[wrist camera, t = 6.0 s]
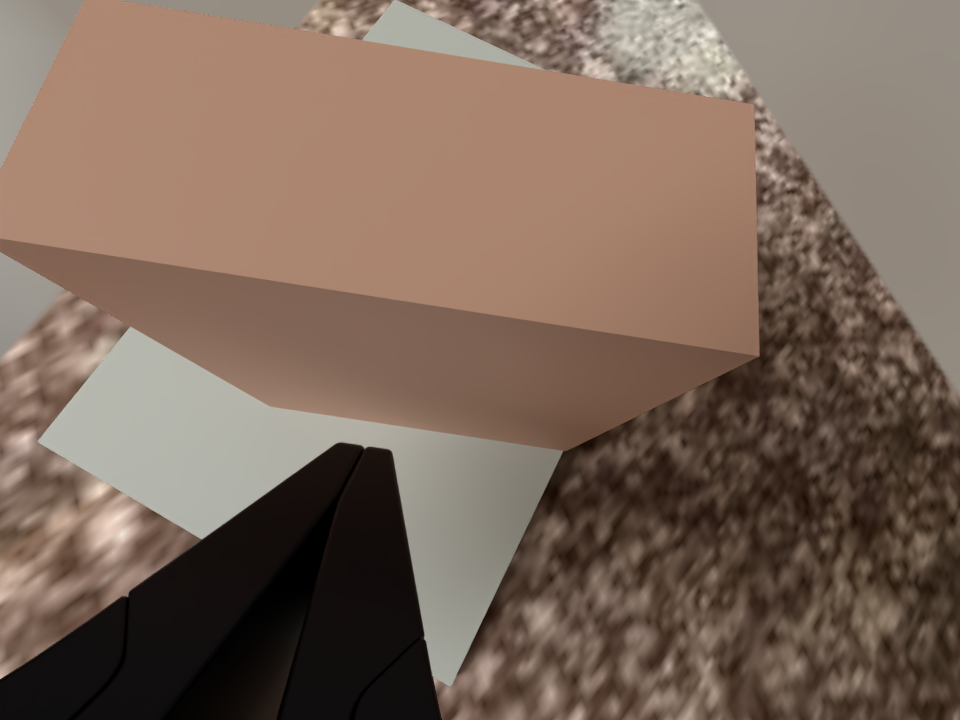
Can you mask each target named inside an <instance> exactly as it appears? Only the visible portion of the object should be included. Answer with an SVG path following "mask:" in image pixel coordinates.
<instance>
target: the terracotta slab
mask: <svg viewBox="0 0 960 720" xmlns="http://www.w3.org/2000/svg"><path fill="white" fill-rule="evenodd" d="M0 252H2V253H3V254H5V255H7V256H8V257H10V258H12V259H14V260H15V261H17V262H19V263H21V264H22V265H24V266H26V267H28V268H29V269H31V270H33V271H35V272H36V273H38V274H40V275H42V276H43V277H45V278H47V279H49V280H50V281H52V282H54V283H56V284H57V285H59V286H61V287H62V288H64V289H66V290H68V291H69V292H71V293H73V294H75V295H76V296H78V297H80V298H82V299H83V300H85V301H87V302H89V303H90V304H92V305H94V306H96V307H97V308H99V309H101V310H103V311H104V312H106V313H108V314H109V315H111V316H113V317H115V318H116V319H118V320H120V321H122V322H123V323H125V324H127V325H129V326H130V327H132V328H134V329H136V330H137V331H139V332H141V333H143V334H144V335H146V336H148V337H150V338H151V339H153V340H155V341H156V342H158V343H160V344H162V345H163V346H165V347H167V348H169V349H170V350H172V351H174V352H176V353H177V354H179V355H181V356H183V357H184V358H186V359H188V360H190V361H191V362H193V363H195V364H197V365H198V366H200V367H202V368H204V369H205V370H207V371H209V372H210V373H212V374H214V375H216V376H217V377H219V378H221V379H223V380H224V381H226V382H228V383H230V384H231V385H233V386H235V387H237V388H238V389H240V390H242V391H244V392H245V393H247V394H249V395H251V396H252V397H254V398H256V399H257V400H259V401H261V402H263V403H264V404H266V405H268V406H270V407H276V408H282V409H289V410H295V411H302V412H309V413H315V414H322V415H329V416H335V417H342V418H349V419H355V420H362V421H368V422H375V423H382V424H388V425H395V426H402V427H408V428H415V429H422V430H428V431H435V432H442V433H448V434H455V435H461V436H468V437H475V438H481V439H488V440H495V441H501V442H508V443H515V444H521V445H528V446H534V447H541V448H548V449H554V450H561V451H567V450H570V449H572V448H574V447H576V446H578V445H580V444H582V443H584V442H586V441H588V440H590V439H592V438H594V437H596V436H598V435H600V434H602V433H604V432H606V431H608V430H610V429H612V428H614V427H616V426H618V425H620V424H622V423H625V422H627V421H629V420H631V419H633V418H635V417H637V416H639V415H641V414H643V413H645V412H647V411H649V410H651V409H653V408H655V407H657V406H659V405H661V404H663V403H665V402H667V401H669V400H671V399H673V398H675V397H677V396H680V395H682V394H684V393H686V392H688V391H690V390H692V389H694V388H696V387H698V386H700V385H702V384H704V383H706V382H708V381H710V380H712V379H714V378H716V377H718V376H720V375H722V374H724V373H726V372H728V371H730V370H732V369H735V368H737V367H739V366H741V365H743V364H745V363H747V362H749V361H751V360H753V359H755V358H757V357H759V356H760V353H759V307H758V261H757V215H756V169H755V123H754V104H748V103H742V102H735V101H729V100H723V99H717V98H711V97H705V96H699V95H693V94H687V93H681V92H674V91H668V90H662V89H656V88H650V87H644V86H638V85H632V84H626V83H620V82H613V81H607V80H601V79H595V78H589V77H583V76H577V75H571V74H565V73H559V72H552V71H546V70H540V69H534V68H528V67H522V66H516V65H510V64H504V63H498V62H491V61H485V60H479V59H473V58H467V57H461V56H455V55H449V54H443V53H437V52H430V51H424V50H418V49H412V48H406V47H400V46H394V45H388V44H382V43H376V42H369V41H363V40H357V39H351V38H345V37H339V36H333V35H327V34H321V33H315V32H308V31H302V30H296V29H290V28H284V27H278V26H272V25H266V24H260V23H254V22H248V21H241V20H235V19H229V18H223V17H217V16H210V15H205V14H199V13H193V12H186V11H180V10H174V9H168V8H162V7H156V6H150V5H144V4H137V3H131V2H126V1H119V0H84V2H83V4H82V6H81V8H80V10H79V12H78V15H77V16H76V18H75V20H74V22H73V24H72V26H71V28H70V30H69V32H68V34H67V36H66V38H65V40H64V42H63V44H62V46H61V48H60V50H59V52H58V54H57V56H56V59H55V60H54V62H53V65H52V67H51V69H50V71H49V73H48V75H47V77H46V79H45V81H44V83H43V85H42V87H41V89H40V91H39V93H38V95H37V97H36V99H35V101H34V103H33V105H32V107H31V109H30V111H29V113H28V115H27V117H26V119H25V121H24V123H23V125H22V127H21V129H20V131H19V133H18V135H17V137H16V139H15V141H14V143H13V145H12V147H11V149H10V151H9V153H8V155H7V157H6V159H5V161H4V163H3V165H2V167H1V169H0Z"/></svg>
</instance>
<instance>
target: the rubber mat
mask: <svg viewBox="0 0 960 720" xmlns="http://www.w3.org/2000/svg"><path fill="white" fill-rule="evenodd" d="M362 40H363V41H369V42H376V43H382V44H388V45H394V46H400V47H406V48H412V49H418V50H424V51H430V52H437V53H443V54H449V55H455V56H461V57H467V58H473V59H479V60H485V61H491V62H498V63H504V64H510V65H516V66H522V67H528V68H534V69H540V70H544V69H542V68H540V67H538V66H536V65H533V64H531V63H529V62H527V61H525V60H523V59H521V58H519V57H516V56H514V55H512V54H510V53H508V52H506V51H504V50H501V49H499V48H497V47H495V46H493V45H491V44H489V43H487V42H484V41H482V40H480V39H478V38H476V37H474V36H472V35H470V34H467V33H465V32H463V31H461V30H459V29H457V28H455V27H453V26H450V25H448V24H446V23H444V22H442V21H440V20H438V19H435V18H433V17H431V16H429V15H427V14H425V13H423V12H421V11H418V10H416V9H414V8H412V7H410V6H408V5H406V4H404V3H401V2H399V1H397V0H394V1H393V2H392V4H391V5H390V6H389V7H388V9H387V10H386V11H385V12H384V14H383V15H382V16H381V17H380V18H379V20H378V21H377V22H376V23H375V25H374V26H373V27H372V28H371V30H370V31H369V32H368V33H367V35H366V36H365V37H364V38H363V39H362ZM37 442H39V443H40V444H42V445H44V446H45V447H47V448H49V449H50V450H52V451H54V452H55V453H57V454H59V455H60V456H62V457H64V458H66V459H67V460H69V461H71V462H72V463H74V464H76V465H77V466H79V467H81V468H82V469H84V470H86V471H87V472H89V473H91V474H92V475H94V476H96V477H98V478H99V479H101V480H103V481H104V482H106V483H108V484H109V485H111V486H113V487H114V488H116V489H118V490H119V491H121V492H123V493H125V494H126V495H128V496H130V497H131V498H133V499H135V500H136V501H138V502H140V503H141V504H143V505H145V506H146V507H148V508H150V509H151V510H153V511H155V512H157V513H158V514H160V515H162V516H163V517H165V518H167V519H168V520H170V521H172V522H173V523H175V524H177V525H178V526H180V527H182V528H183V529H185V530H187V531H189V532H190V533H192V534H194V535H195V536H197V537H199V538H200V539H203V538H204V537H206V536H207V535H209V534H210V533H211V532H213V531H214V530H216V529H217V528H218V527H220V526H221V525H223V524H224V523H225V522H227V521H228V520H230V519H231V518H232V517H234V516H235V515H237V514H238V513H239V512H241V511H242V510H244V509H245V508H246V507H248V506H249V505H251V504H252V503H253V502H255V501H256V500H258V499H259V498H260V497H262V496H263V495H265V494H266V493H267V492H269V491H270V490H272V489H273V488H274V487H276V486H277V485H278V484H280V483H281V482H283V481H284V480H285V479H287V478H288V477H290V476H291V475H292V474H294V473H295V472H297V471H298V470H299V469H301V468H302V467H304V466H305V465H306V464H308V463H309V462H311V461H312V460H313V459H315V458H316V457H318V456H319V455H320V454H322V453H323V452H325V451H326V450H327V449H329V448H330V447H332V446H333V445H334V444H336V443H339V442H344V443H351V444H357V445H362V446H363V447H364V449H365V448H366V447H369V446H371V447H377V448H384V449H389V450H391V451H392V453H393V458H394V464H395V470H396V475H397V481H398V486H399V492H400V498H401V503H402V509H403V515H404V520H405V526H406V532H407V537H408V543H409V549H410V554H411V560H412V566H413V571H414V577H415V583H416V588H417V594H418V600H419V605H420V611H421V617H422V622H423V628H424V634H425V636H424V639H425V640H426V643H427V649H428V655H429V660H430V666H431V671H432V676H433V677H435V678H436V679H438V680H440V681H441V682H443V683H445V684H446V685H448V686H450V687H451V685H452V683H453V681H454V679H455V677H456V675H457V673H458V671H459V669H460V667H461V664H462V662H463V660H464V658H465V656H466V654H467V652H468V650H469V648H470V646H471V643H472V641H473V639H474V637H475V635H476V633H477V631H478V629H479V627H480V625H481V623H482V620H483V618H484V616H485V614H486V612H487V610H488V608H489V606H490V604H491V602H492V599H493V597H494V595H495V593H496V591H497V589H498V587H499V585H500V583H501V581H502V578H503V576H504V574H505V572H506V570H507V568H508V566H509V564H510V562H511V560H512V558H513V555H514V553H515V551H516V549H517V547H518V545H519V543H520V541H521V539H522V537H523V534H524V532H525V530H526V528H527V526H528V524H529V522H530V520H531V518H532V516H533V514H534V511H535V509H536V507H537V505H538V503H539V501H540V499H541V497H542V495H543V493H544V490H545V488H546V486H547V484H548V482H549V480H550V478H551V476H552V474H553V472H554V469H555V467H556V465H557V463H558V461H559V459H560V457H561V455H562V453H563V451H561V450H554V449H548V448H541V447H534V446H528V445H521V444H515V443H508V442H501V441H495V440H488V439H481V438H475V437H468V436H461V435H455V434H448V433H442V432H435V431H428V430H422V429H415V428H408V427H402V426H395V425H388V424H382V423H375V422H368V421H362V420H355V419H349V418H342V417H335V416H329V415H322V414H315V413H309V412H302V411H295V410H289V409H282V408H276V407H270V406H268V405H266V404H264V403H263V402H261V401H259V400H257V399H256V398H254V397H252V396H251V395H249V394H247V393H245V392H244V391H242V390H240V389H238V388H237V387H235V386H233V385H231V384H230V383H228V382H226V381H224V380H223V379H221V378H219V377H217V376H216V375H214V374H212V373H210V372H209V371H207V370H205V369H204V368H202V367H200V366H198V365H197V364H195V363H193V362H191V361H190V360H188V359H186V358H184V357H183V356H181V355H179V354H177V353H176V352H174V351H172V350H170V349H169V348H167V347H165V346H163V345H162V344H160V343H158V342H156V341H155V340H153V339H151V338H150V337H148V336H146V335H144V334H143V333H141V332H139V331H137V330H136V329H134V328H132V327H130V328H129V329H128V330H127V331H126V333H125V334H124V335H123V336H122V338H121V339H120V340H119V341H118V343H117V344H116V345H115V346H114V347H113V349H112V350H111V351H110V352H109V354H108V355H107V356H106V357H105V359H104V360H103V361H102V362H101V364H100V365H99V366H98V367H97V369H96V370H95V371H94V372H93V373H92V375H91V376H90V377H89V378H88V380H87V381H86V382H85V383H84V385H83V386H82V387H81V388H80V390H79V391H78V392H77V393H76V394H75V396H74V397H73V398H72V399H71V401H70V402H69V403H68V404H67V406H66V407H65V408H64V409H63V411H62V412H61V413H60V414H59V416H58V417H57V418H56V419H55V420H54V422H53V423H52V424H51V425H50V427H49V428H48V429H47V430H46V432H45V433H44V434H43V435H42V437H41V438H40V439H39V440H38V441H37Z"/></svg>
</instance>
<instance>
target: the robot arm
mask: <svg viewBox="0 0 960 720" xmlns="http://www.w3.org/2000/svg"><path fill="white" fill-rule="evenodd" d="M424 636H425V634H424V628H423V622H422V617H421V611H420V605H419V600H418V594H417V588H416V583H415V577H414V571H413V566H412V560H411V554H410V549H409V543H408V537H407V532H406V526H405V520H404V515H403V509H402V503H401V498H400V492H399V486H398V481H397V475H396V470H395V464H394V458H393V453H392V451H391V450H389V449H384V448H377V447H371V446H369V447H366V448H365V449H364V447H363V446H362V445H357V444H351V443H344V442H339V443H336V444H334V445H333V446H332V447H330V448H329V449H327V450H326V451H325V452H323V453H322V454H320V455H319V456H318V457H316V458H315V459H313V460H312V461H311V462H309V463H308V464H306V465H305V466H304V467H302V468H301V469H299V470H298V471H297V472H295V473H294V474H292V475H291V476H290V477H288V478H287V479H285V480H284V481H283V482H281V483H280V484H278V485H277V486H276V487H274V488H273V489H272V490H270V491H269V492H267V493H266V494H265V495H263V496H262V497H260V498H259V499H258V500H256V501H255V502H253V503H252V504H251V505H249V506H248V507H246V508H245V509H244V510H242V511H241V512H239V513H238V514H237V515H235V516H234V517H232V518H231V519H230V520H228V521H227V522H225V523H224V524H223V525H221V526H220V527H218V528H217V529H216V530H214V531H213V532H211V533H210V534H209V535H207V536H206V537H204V538H203V539H202V540H200V541H199V542H197V543H196V544H195V545H193V546H192V547H190V548H189V549H188V550H186V551H185V552H184V553H182V554H181V555H179V556H178V557H177V558H175V559H174V560H172V561H171V562H170V563H168V564H167V565H165V566H164V567H163V568H161V569H160V570H158V571H157V572H156V573H154V574H153V575H151V576H150V577H149V578H147V579H146V580H144V581H143V582H142V583H140V584H139V585H137V586H136V587H135V588H133V589H132V590H131V591H130V592H129V594H128V597H127V596H122V597H120V598H119V599H117V600H116V601H115V602H113V603H112V604H110V605H109V606H108V607H106V608H105V609H103V610H102V611H101V612H99V613H98V614H96V615H95V616H94V617H92V618H91V619H89V620H88V621H87V622H85V623H84V624H82V625H81V626H79V627H78V628H76V629H75V630H73V631H72V632H71V633H69V634H68V635H66V636H65V637H63V638H62V639H60V640H59V641H57V642H56V643H55V644H53V645H52V646H50V647H49V648H47V649H46V650H44V651H43V652H41V653H40V654H39V655H37V656H36V657H34V658H33V659H31V660H30V661H28V662H26V663H25V664H23V665H22V666H20V667H19V668H17V669H15V670H14V671H12V672H11V673H9V674H8V675H6V676H5V677H3V678H1V679H0V720H442V718H441V714H440V709H439V704H438V699H437V695H436V690H435V685H434V681H433V676H432V671H431V666H430V660H429V655H428V649H427V643H426V640H425V639H424Z"/></svg>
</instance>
